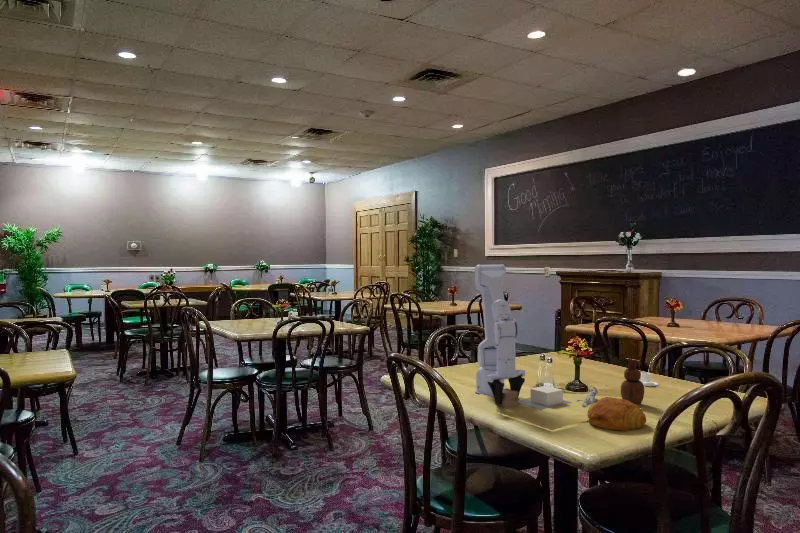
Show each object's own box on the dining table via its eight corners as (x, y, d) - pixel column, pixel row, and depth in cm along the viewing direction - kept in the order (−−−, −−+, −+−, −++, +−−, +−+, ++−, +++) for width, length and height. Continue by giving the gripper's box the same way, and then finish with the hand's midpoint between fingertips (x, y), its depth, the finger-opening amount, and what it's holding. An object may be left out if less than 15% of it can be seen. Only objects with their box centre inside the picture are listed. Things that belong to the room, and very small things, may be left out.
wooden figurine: (629, 407, 173) (629, 358, 173) (617, 402, 179) (617, 355, 178) (648, 405, 175) (647, 357, 175) (635, 401, 181) (635, 354, 180)
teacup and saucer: (654, 388, 198) (654, 377, 198) (630, 385, 203) (630, 374, 203) (660, 384, 205) (660, 372, 205) (637, 381, 210) (637, 370, 210)
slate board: (512, 403, 180) (512, 401, 180) (543, 396, 188) (543, 394, 188) (540, 411, 170) (540, 409, 170) (572, 404, 178) (572, 402, 178)
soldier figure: (574, 411, 174) (574, 390, 185) (586, 421, 174) (585, 400, 185) (592, 396, 171) (591, 376, 181) (605, 406, 171) (603, 386, 181)
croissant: (605, 421, 167) (602, 393, 168) (655, 425, 155) (651, 396, 156) (575, 429, 159) (572, 400, 160) (625, 435, 146) (621, 403, 147)
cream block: (530, 401, 180) (530, 388, 180) (545, 398, 184) (545, 385, 184) (547, 406, 174) (547, 393, 174) (562, 402, 178) (562, 389, 178)
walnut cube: (494, 406, 177) (494, 390, 177) (506, 404, 180) (506, 388, 180) (506, 410, 173) (506, 393, 173) (518, 407, 175) (517, 391, 175)
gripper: (497, 363, 169) (498, 408, 169) (532, 357, 176) (532, 401, 177) (481, 359, 174) (482, 403, 175) (515, 354, 182) (516, 396, 183)
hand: (506, 402), depth 176 cm, fingers open, 6 cm apart
